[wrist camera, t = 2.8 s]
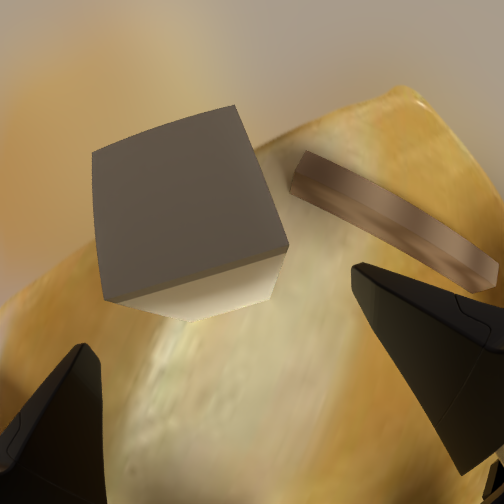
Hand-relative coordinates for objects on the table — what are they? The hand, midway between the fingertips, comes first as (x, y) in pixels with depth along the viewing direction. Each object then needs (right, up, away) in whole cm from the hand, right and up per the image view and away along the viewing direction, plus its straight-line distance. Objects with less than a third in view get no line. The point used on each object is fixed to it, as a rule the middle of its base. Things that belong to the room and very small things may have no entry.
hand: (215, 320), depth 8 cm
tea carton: (-1, +1, +11) cm, 11 cm away
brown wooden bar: (+12, +3, +12) cm, 18 cm away
